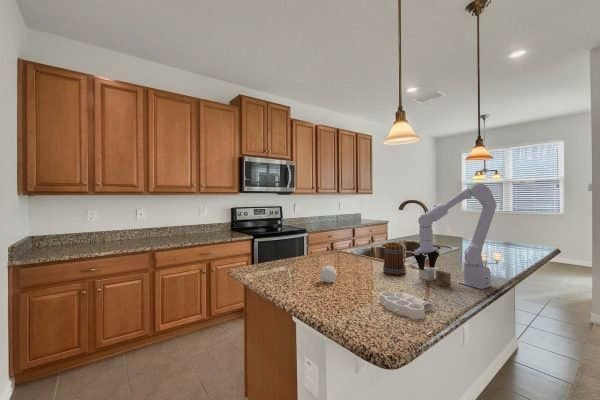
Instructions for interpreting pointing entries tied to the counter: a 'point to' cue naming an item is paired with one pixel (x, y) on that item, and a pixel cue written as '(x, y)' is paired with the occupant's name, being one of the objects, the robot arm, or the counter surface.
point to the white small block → (426, 274)
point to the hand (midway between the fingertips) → (426, 268)
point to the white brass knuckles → (405, 304)
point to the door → (436, 270)
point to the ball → (328, 274)
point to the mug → (393, 259)
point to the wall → (443, 279)
